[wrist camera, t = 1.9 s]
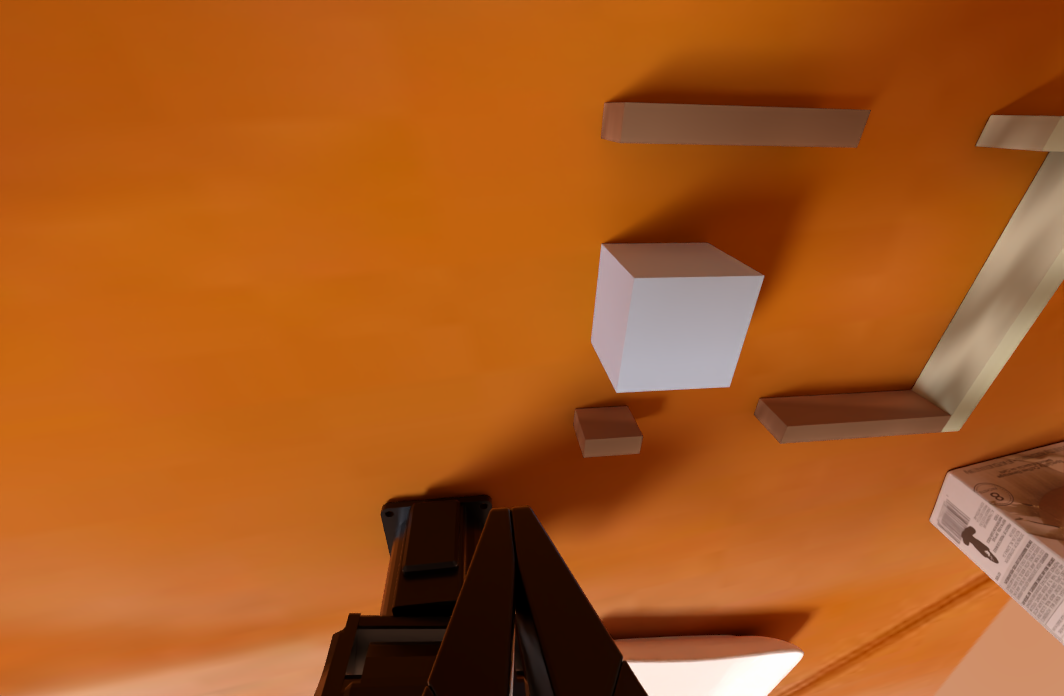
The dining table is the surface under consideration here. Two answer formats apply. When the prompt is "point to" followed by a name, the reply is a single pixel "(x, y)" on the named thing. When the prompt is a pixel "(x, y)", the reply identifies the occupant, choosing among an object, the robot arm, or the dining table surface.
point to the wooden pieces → (975, 331)
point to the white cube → (671, 315)
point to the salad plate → (709, 664)
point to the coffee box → (1012, 526)
